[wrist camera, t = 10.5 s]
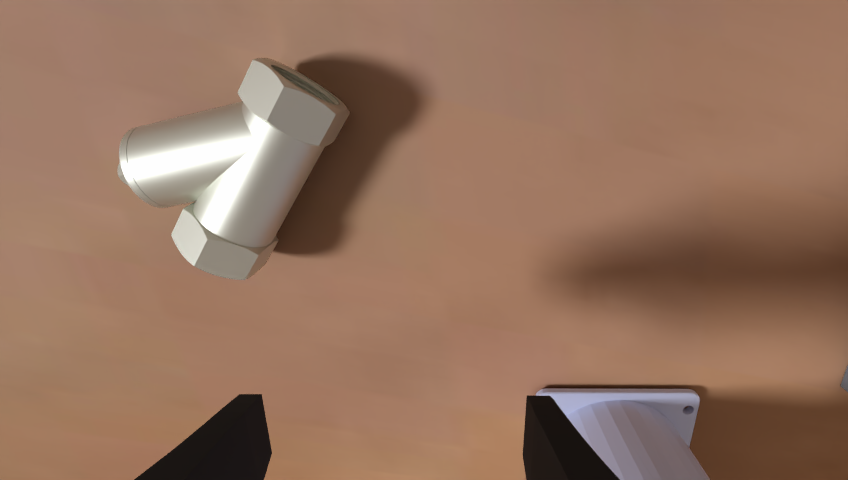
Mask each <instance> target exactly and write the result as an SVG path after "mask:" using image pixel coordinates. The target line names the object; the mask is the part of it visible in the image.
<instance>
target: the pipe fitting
mask: <svg viewBox="0 0 848 480" xmlns="http://www.w3.org/2000/svg"><path fill="white" fill-rule="evenodd" d="M238 94H239V96H240V98H241V100H242V102H238V103H234V104H230V105H226V106H222V107H218V108H213V109H209V110H205V111H201V112H197V113H193V114H189V115H185V116H181V117H177V118H172V119H168V120H164V121H160V122H156V123H152V124H148V125H143V126H139V127H135V128H132V129H130V130H129V131H128V132H126V134H125V135H124V136H123V138H122V140H121V143H120V148H119V159H120V164H119V165H118V176H119V178H120V179H121V180H122V181H123V182H124V183H125V184H126V185H129V186H130V187H131V189H132V190H133V191H134V193H135V194H136V195H137V196H138V197H139V198H140V199H142V200H143V201H144V202H146V203H148V204H149V205H152V206H154V207H159V208H166V207H171V206H175V205H180V204H185V203H190V202H194V203H192V204H190V205H189V206H187V207H185V208H184V209H183V211H182V213H181V215H180V217H179V219H178V221H177V224H176V226H175V228H174V230H173V232H172V234H171V235H172V238H173V240H174V242H175V244H176V246H177V248H178V249H179V251H180V252H181V254H182V255H183V256H184V257H185V259H186V260H187V261H188V262H189V263H191V264H192V265H193V266H195V267H197V268H199V269H201V270H203V271H205V272H207V273H210V274H213V275H216V276H220V277H224V278H229V279H237V280H246V279H248V278H250V277H251V276H252V275H254V274H255V273H256V272H257V271H258V270H260V269H261V268H262V267H263V266H264V265H265V264H266V262H267V260H268V259H269V257H270V255H271V253H272V251H273V250H274V248H275V246H276V244H277V243H278V241H279V240H278V239H277V237H276V234H277V232H278V230H279V228H280V227H281V225H282V223H283V221H284V219H285V218H286V216H287V214H288V212H289V210H290V209H291V207H292V205H293V203H294V201H295V200H296V198H297V196H298V194H299V192H300V191H301V189H302V187H303V185H304V183H305V182H306V180H307V178H308V176H309V174H310V173H311V171H312V169H313V167H314V165H315V164H316V162H317V160H318V158H319V156H320V155H321V153H322V151H323V149H324V147H325V146H328V145H330V144H331V143H332V142H334V141H335V139H336V137H337V136H338V134H339V132H340V130H341V128H342V127H343V125H344V123H345V121H346V119H347V118H348V116H349V114H350V112H349V110H348V109H347V107H346V106H345V104H344V103H343V102H342V101H341V100H340V99H338V98H337V97H336V96H335V95H333V94H332V93H331V92H329V91H328V90H327V89H325V88H324V87H322V86H321V85H319V84H318V83H316V82H314V81H313V80H311V79H310V78H308V77H306V76H305V75H303V74H301V73H299V72H298V71H296V70H294V69H292V68H290V67H288V66H286V65H284V64H282V63H279V62H277V61H275V60H272V59H269V58H257V59H253V61H252V63H251V65H250V67H249V69H248V71H247V73H246V76H245V78H244V80H243V82H242V84H241V86H240V88H239V91H238ZM195 201H196V202H195Z"/></svg>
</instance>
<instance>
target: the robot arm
mask: <svg viewBox="0 0 848 480" xmlns="http://www.w3.org/2000/svg"><path fill="white" fill-rule="evenodd" d="M699 403H700V397H699V396H698V394H697V393H696V392H695V391H694V390H692V389H570V388H545V389H541V390H539V391H538V392H537V393H536V396H527V402H526V416H525V431H524V445H523V460H524V466H525V473H526V479H527V480H710V478H709V477H708V475H707V474H706V472H705V471H704V469H703V468H702V466H701V465H700V463H699V462H698V460H697V459H696V457H695V456H694V454H693V453H692V451H691V450H690V448H689V447H690V442H691V438H692V434H693V429H694V425H695V421H696V416H697V412H698V408H699ZM686 406H689V407H687V408H686V409H684V408H685V407H686ZM271 454H272V451H271V445H270V440H269V434H268V428H267V423H266V417H265V411H264V406H263V400H262V394H240V395H238V396H237V397H236V398H234V399H233V400H232V401H231V402H230V403H228V404H227V405H226V406H225V407H224V408H222V409H221V410H220V411H219V412H218V413H217V414H215V415H214V416H213V417H212V418H211V419H209V420H208V421H207V422H206V423H205V424H204V425H202V426H201V427H200V428H199V429H198V430H196V431H195V432H194V433H193V434H192V435H190V436H189V437H188V438H187V439H186V440H184V441H183V442H182V443H181V444H180V445H178V446H177V447H176V448H175V449H173V450H172V451H171V452H170V453H168V454H167V455H166V456H164V457H163V458H162V459H160V460H159V461H158V462H157V463H155V464H154V465H153V466H151V467H150V468H149V469H147V470H146V471H145V472H144V473H142V474H141V475H140V476H138V477H137V478H136V479H134V480H264V477H265V474H266V471H267V467H268V464H269V461H270V457H271Z"/></svg>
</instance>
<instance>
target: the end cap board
mask: <svg viewBox="0 0 848 480" xmlns="http://www.w3.org/2000/svg"><path fill="white" fill-rule="evenodd" d="M841 387H842V388H843V389H845V390H846V391H847V392H848V366H847V369H846V372H845V375H844V378H843V380H842V383H841Z"/></svg>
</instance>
